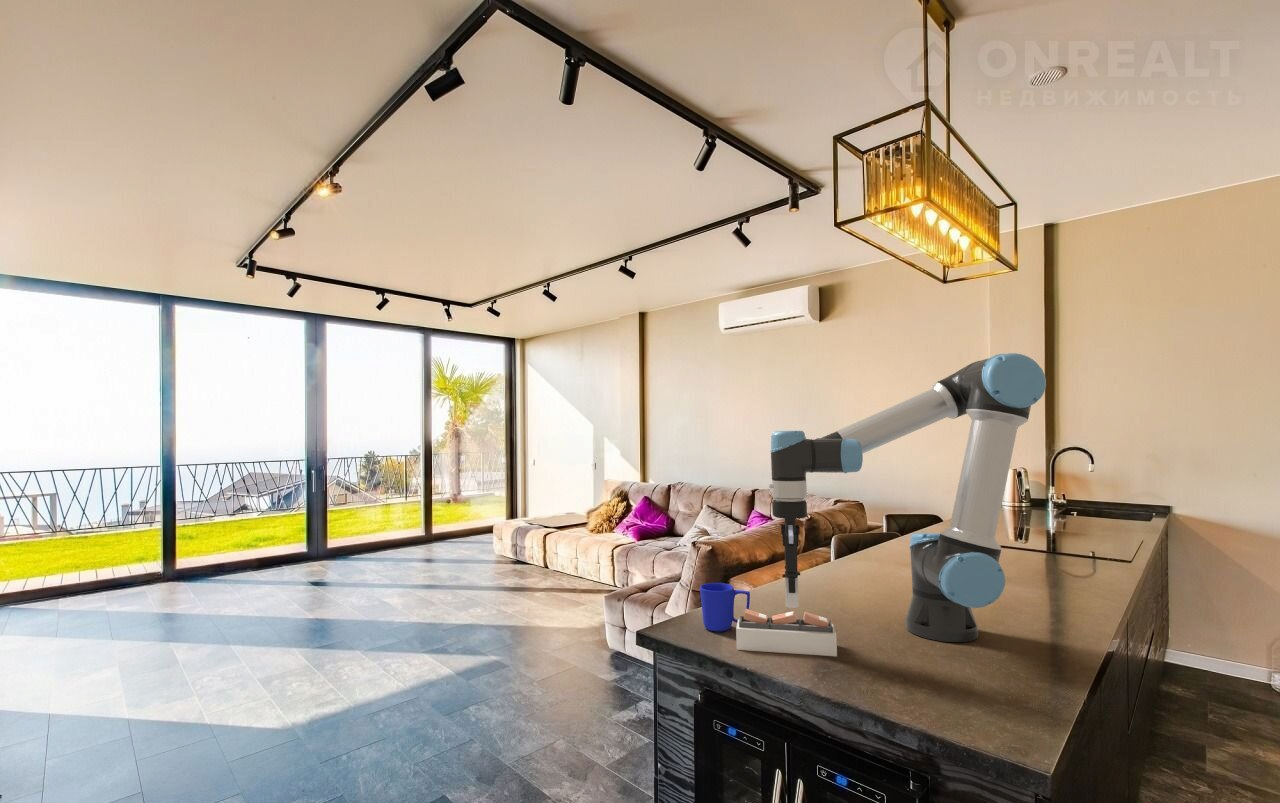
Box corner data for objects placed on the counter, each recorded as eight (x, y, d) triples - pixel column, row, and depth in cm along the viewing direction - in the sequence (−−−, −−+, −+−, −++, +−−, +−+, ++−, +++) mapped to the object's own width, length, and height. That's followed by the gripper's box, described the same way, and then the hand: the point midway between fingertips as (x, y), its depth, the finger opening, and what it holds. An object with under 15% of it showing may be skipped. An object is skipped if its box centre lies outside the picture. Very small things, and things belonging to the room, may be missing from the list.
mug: (750, 635, 135) (749, 592, 135) (699, 633, 137) (698, 590, 138) (751, 624, 143) (749, 583, 143) (702, 622, 145) (701, 582, 146)
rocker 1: (765, 621, 130) (767, 615, 130) (765, 625, 127) (767, 619, 127) (744, 614, 131) (745, 608, 131) (743, 618, 128) (745, 612, 128)
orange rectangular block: (826, 624, 127) (827, 618, 127) (827, 629, 124) (828, 622, 124) (803, 617, 128) (804, 611, 128) (803, 622, 125) (805, 615, 125)
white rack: (833, 644, 128) (832, 619, 128) (837, 656, 121) (836, 629, 122) (738, 638, 133) (738, 614, 133) (736, 649, 126) (736, 624, 126)
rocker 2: (795, 617, 128) (793, 610, 129) (796, 621, 125) (794, 614, 126) (773, 621, 129) (772, 615, 130) (774, 626, 126) (772, 619, 127)
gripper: (772, 496, 136) (774, 597, 134) (772, 502, 123) (774, 614, 122) (805, 496, 134) (808, 599, 133) (808, 502, 122) (811, 616, 120)
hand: (792, 606), depth 127 cm, fingers closed
